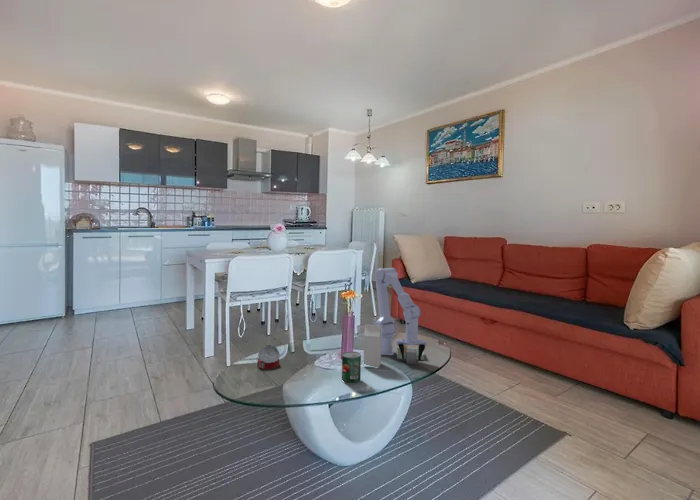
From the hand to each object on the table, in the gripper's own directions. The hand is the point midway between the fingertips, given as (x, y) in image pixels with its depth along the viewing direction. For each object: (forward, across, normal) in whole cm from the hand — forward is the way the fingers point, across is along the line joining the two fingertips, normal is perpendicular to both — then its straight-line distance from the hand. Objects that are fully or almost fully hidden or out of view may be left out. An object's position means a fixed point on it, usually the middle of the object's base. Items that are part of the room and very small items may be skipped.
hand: (411, 359), depth 175 cm
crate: (+2, 0, +10) cm, 10 cm away
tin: (+2, 0, 0) cm, 2 cm away
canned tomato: (+2, -28, -24) cm, 36 cm away
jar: (+1, -3, +10) cm, 10 cm away
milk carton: (+2, -18, -6) cm, 19 cm away
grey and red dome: (+2, -66, -8) cm, 67 cm away
